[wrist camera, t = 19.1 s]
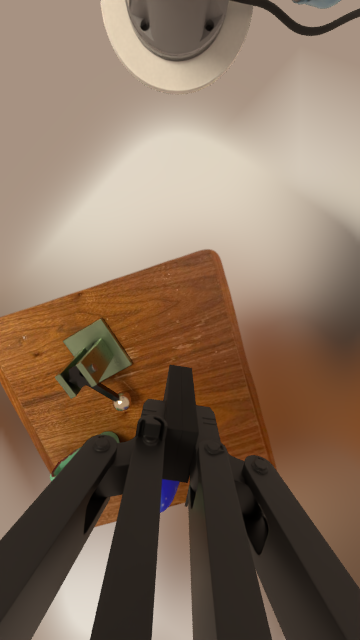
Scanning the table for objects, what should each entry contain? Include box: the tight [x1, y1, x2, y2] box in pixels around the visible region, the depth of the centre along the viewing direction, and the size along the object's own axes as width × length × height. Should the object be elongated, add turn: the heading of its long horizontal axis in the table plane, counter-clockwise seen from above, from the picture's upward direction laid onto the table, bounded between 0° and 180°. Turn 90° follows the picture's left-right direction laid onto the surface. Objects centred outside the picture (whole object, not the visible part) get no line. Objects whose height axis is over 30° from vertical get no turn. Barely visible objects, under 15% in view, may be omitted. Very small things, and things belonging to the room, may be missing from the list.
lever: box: [69, 365, 132, 411], centre depth 48 cm, size 15×4×4 cm
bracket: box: [55, 318, 132, 399], centre depth 48 cm, size 11×9×13 cm
